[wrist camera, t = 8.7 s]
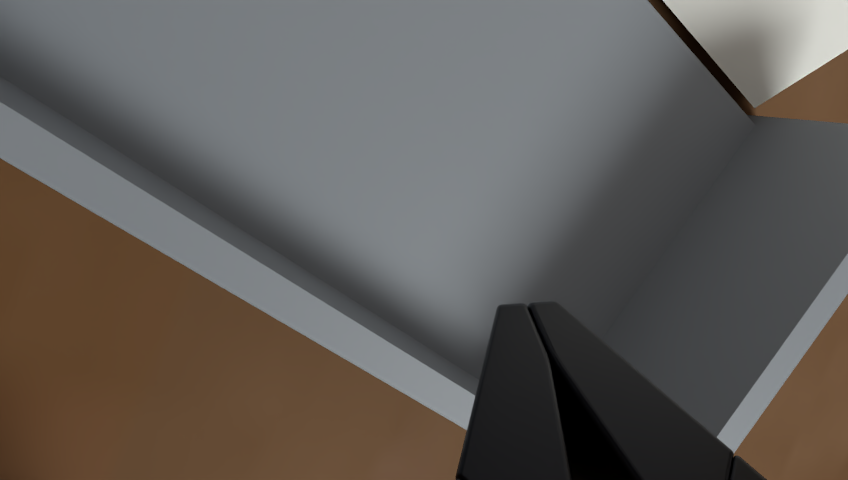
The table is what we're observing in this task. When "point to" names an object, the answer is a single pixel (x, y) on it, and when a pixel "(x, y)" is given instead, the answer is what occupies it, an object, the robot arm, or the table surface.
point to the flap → (766, 39)
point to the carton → (446, 179)
